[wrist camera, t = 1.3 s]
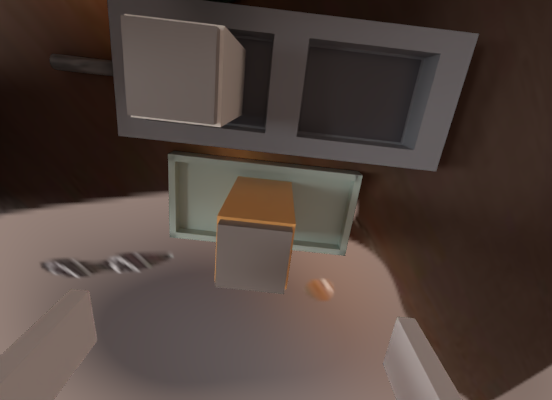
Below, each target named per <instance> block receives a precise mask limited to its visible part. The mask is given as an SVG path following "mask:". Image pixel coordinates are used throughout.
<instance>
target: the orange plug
mask: <svg viewBox="0 0 552 400" xmlns="http://www.w3.org/2000/svg"><path fill="white" fill-rule="evenodd" d="M295 227H296V221H295V211H294V201H293V191H292V182H287V181H278V180H269V179H260V178H251V177H242V176H238V177H237V179H236V181H235V183H234V185H233V187H232V189H231V190H230V192H229V194H228V196H227V198H226V200H225V202H224V204H223V206H222V208H221V210H220V211H219V213H218V215H217V232H216V257H215V287H220V288H230V289H239V290H249V291H259V292H269V293H278V294H284V290H285V289H286V288H287V281H288V274H289V268H290V261H291V254H292V247H293V240H294V233H295Z"/></svg>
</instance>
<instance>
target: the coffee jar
mask: <svg viewBox="0 0 552 400" xmlns="http://www.w3.org/2000/svg"><path fill="white" fill-rule="evenodd" d="M205 1H213V2H221V3H229V2H232V1H235V0H205Z"/></svg>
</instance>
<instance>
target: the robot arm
mask: <svg viewBox="0 0 552 400" xmlns="http://www.w3.org/2000/svg"><path fill="white" fill-rule="evenodd" d="M96 342H97V335H96V329H95V323H94V317H93V311H92V305H91V299H90V293H89V291H87V290H75V289H71V290H69V291H68V292H67V293H66V294H65V295H64V296H63V297H62V298H61V299H60V300H59V301H58V302H57V303H56V304H55V305H54V306H52V307H51V308H50V309H49V310H48V311H47V312H46V313H45V314H44V315H43V316H42V317H41V318H40V319H39V320H38V321H37V322H36V323H34V324H33V325H32V326H31V327H30V328H29V329H28V330H27V331H26V332H25V333H24V334H23V335H22V336H21V337H20V338H19V339H18V340H16V341H15V342H14V343H13V344H12V345H11V346H10V347H9V348H8V349H7V350H6V351H5V352H4V353H3V354H2V355H1V356H0V400H54V399H55V397H56V396H57V395H58V393H59V392H60V391H61V389H62V388H63V386H64V385H65V384H66V382H67V381H68V380H69V378H70V377H71V376H72V374H73V373H74V372H75V370H76V369H77V367H78V366H79V365H80V363H81V362H82V361H83V359H84V358H85V357H86V355H87V354H88V352H89V351H90V350H91V349H92V347H93V346H94V344H95V343H96ZM383 366H384V368H385V371H386V374H387V376H388V379H389V382H390V384H391V387H392V389H393V392H394V395H395V398H396V400H462V398H461V396H460V395H459V393H458V391H457V390H456V388H455V386H454V384H453V383H452V381H451V379H450V378H449V376H448V374H447V372H446V371H445V369H444V367H443V366H442V364H441V362H440V361H439V359H438V357H437V355H436V354H435V352H434V350H433V349H432V347H431V345H430V344H429V342H428V340H427V338H426V337H425V335H424V333H423V332H422V330H421V328H420V327H419V325H418V323H417V321H416V320H415V318H405V317H397V319H396V322H395V325H394V329H393V332H392V335H391V339H390V342H389V346H388V349H387V352H386V356H385V359H384V362H383Z"/></svg>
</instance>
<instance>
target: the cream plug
mask: <svg viewBox="0 0 552 400" xmlns="http://www.w3.org/2000/svg"><path fill="white" fill-rule="evenodd" d="M120 18H121V32H122V46H123V61H124V75H125V90H126V104H127V115H131V117H134V118H143V119H152V120H161V121H169V122H178V123H187V124H196V125H205V126H214V127H222V126H224V125H225V124H227V123H229V122H230V121H232V120H234V119H236V118H237V117H239V116H241V115H242V105H243V90H244V74H245V59H246V50H245V48H244V47H243V46H242V45H241V44H240V43H239V42H238V40H237V39H236V38H235V37H234V36H233V35H232V34H231V32H230V31H229V30H228V29H227V28H226V27H225V26H223V25H215V24H206V23H198V22H190V21H181V20H173V19H165V18H156V17H148V16H140V15H131V14H124V15H120Z"/></svg>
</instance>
